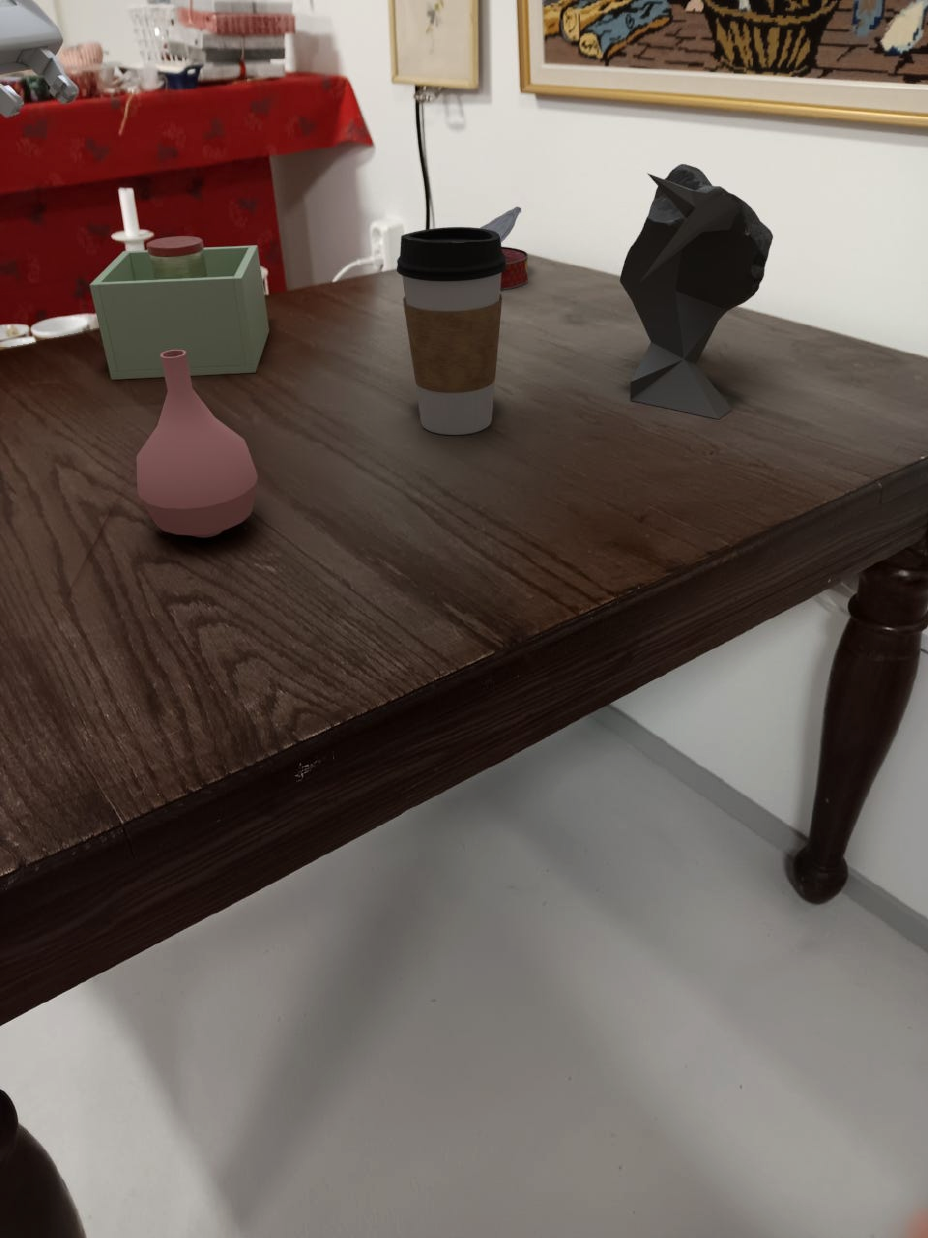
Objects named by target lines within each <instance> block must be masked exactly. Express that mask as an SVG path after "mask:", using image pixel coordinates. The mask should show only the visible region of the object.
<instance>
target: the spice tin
mask: <svg viewBox="0 0 928 1238" xmlns="http://www.w3.org/2000/svg"><path fill="white" fill-rule="evenodd" d="M145 246H146V250H147V251H148V254H149V255H150V260H151V265H152V271H153V276H154V280H163V279H185V278H207V271H206V265H205V259H204V253H203V248H205V247H204V241H203V239H202V238H201V237H198V236H190V235H189V236H188V235H178V236H167V237H161V238H160V237H159V238H156V239H153V240H150V241H148V242H147V243H146V245H145Z"/></svg>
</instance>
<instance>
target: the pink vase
mask: <svg viewBox="0 0 928 1238" xmlns="http://www.w3.org/2000/svg"><path fill="white" fill-rule="evenodd" d="M160 357H161V361H162V366H163V371H164V375H165V377H164V380H165V385H166V389H167V394H166V396H165V400H164V403H163V407H162V409H161V413H160V416H159V419H158V421H157V425H156V426H155V428H154V429H153V431H152V433H151V434H150V435H149V437H148V438H147V440H146V442H145V443H144V444H143V447H141V449H140V450H139V452H138V454H137V455H136V457H135V458H136V489H137V493H138V497H139V499H140V501H141V503H142V504H143V506H144V507H145V509H146V511H147V513H148V514H149V516H150V518H151V519H152V521H153V522H154V524H155V526H157V527H158V528H159V529H160V530H162V531H163V532H166V533H170V534H174V535H180V536H193V537H196V538H212V537H216V536H218V535H220V534H221V533H223V532H224V531H226V530H229V529H231V528H233V527H235V526H237V525H240V524H242V523H243V522H244V521H245V520H246V519H248V518H249V517H250V516H252V512H253V509H254V507H255V500H256V493H257V487H258V479H259V475H258V472H257V469H256V467H255V464H254V461H253V458H252V456H251V453H250V450H249V447H248V445H247V443H246V440H245V439H244V438H243V437H242V436H241V435H239V434H238V433H236V431H234V430H232V429H231V428H229V427H228V425H226V424H225V423H223V422H222V421H221V420H219V419H218V418H216V417H215V416H214V415H213V413H212V412H211V411H210V409H209V408H208V406H207V405H206V404H205V403H204V401H203V400H202V399H201V397H200V396H199V395H198V394H197V392H196V391H195V389H193V383H192V376H190V371H189V366H188V360H187V355H186V351H184V350H170V351H166V352H163V353H161V354H160Z"/></svg>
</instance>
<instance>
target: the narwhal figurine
mask: <svg viewBox="0 0 928 1238" xmlns="http://www.w3.org/2000/svg"><path fill="white" fill-rule="evenodd" d="M646 174H647V175H648V176H649V178H651V180H652V181H653V182H654V183H655V184H656V185H657V187H656V190H655V194H654V198H653V200H652V202H651V204H650V207H649V211H648V214H647V216H646V218H645V221H644V223H643V226H642V228H641V230H640V232H639V234H638V236H637V237H636V239H635V240H634V243H633V244H632V245H631V246H630V247H629V249H628V251H627V254H626V257H625V259H624V262H623V266H622V268H621V273H620V277H619V283H620V284H621V286H622V287H623V290H624V291H625V292H626V293H627V296H628V297H629V298H630V300H631V302H632V304H633V306H634V308H635V311H636V313H637V315H638V317H639V320H640V321H641V324H642V326H643V328H644V330H645V332H646V334H647V337H648V339H649V341H650V343H649V344H648V347H647V349H646V351H645V352H644V355H643V357H642V358H641V360H640V362H639V363H638V367H637V369H636V371H635V372H634V374H633V376H632V378H631V380H630V388H629V389H630V390H629V391H630V392H629V393H630V394H629V401H631V402H636V403H641V404H644V405H645V404H646V405H651V406H655V407H660V408H665V409H670V410H674V411H679V412H684V413H689V414H693V415H698V416H703V417H707V418H712V419H715V420H716V419H717V420H720V419H721V418H723V417H724V416H726V415H727V414H728V413H730V412H731V411H732V410H733V408H732V406H731V405H730V404H729V403H728V401H727V400H726V399H725V398H724V396H722V394H721V393H720V392H719V390H718V389H717V388H716V387H715V386H714V385H713V383H712V382H711V381H710V380H709V378H708V377H707V376H706V375H705V373H704V372H703V371H702V370H701V369H700V367H699V366H698V365H697V364H698V361H699V359H700V357H701V356H702V354H703V352H704V350H705V348H706V346H707V343H708V342H709V340H710V338H711V336H712V334H713V333H714V330H715V328H716V326H717V325H718V323H719V321H720V320H721V319H722V318H723V317H724V316H725V315H726V314H727V312H729V311H731V310H732V309H734V308H737V307H738V306H741V305H743V304H744V303H746V302H747V301H749V300H750V299H751V298H753V297H755V294H756V293H757V292H758V291H759V289H760V285H761V283H762V281H763V280H764V277H765V269H766V264H767V261H768V258H769V253H770V249H771V246H772V243H773V240H774V235H773V233H772V231H771V229H770V228H769V227H768V226H767V225H766V224H764V223H763V222H762V221H761V220H760V217H759V216H758V215H757V213H756V211H755V210H754V208H753V207H752V206H751V205H749V204H748V203H747V202H746V201H745V200H743V199H741V198H740V197H739V196H738V195H736V194H734V193H731V192H729V191H728V190H726V189H725V188H724V187H722V186H721V185H713V184H712V183H711V181H710V180H709V178H708V177H707V176H706V174H705V173H704V172H703V171H702V170H701V169H699V168H698V167H696V166H693V165H689V164H686V163H680V164H678V165H677V166H675V167H674V168H673V169H671V171H670V172H669V173H668V175H667V176H666V177H665V178H662V177H659V176H656V175H653V174H652V173H648V172H646Z"/></svg>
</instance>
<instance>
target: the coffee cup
mask: <svg viewBox="0 0 928 1238" xmlns="http://www.w3.org/2000/svg"><path fill="white" fill-rule="evenodd" d="M502 247H503V246H502V242H501V240H500V235H499V234H498V233H496V232H494V231H491V230H487V229H482V228H481V227H472V226H448V227H436V228H428V229H427V228H426V229H423V230H416V231H412V232H409V233H408V232H407V233H405V234H402V235H401V236H400V249H399V252H400V253H399V257H398V258H397V260H396V264H397V265H396V272H397V273H398V274H399V275H400V276H402V284H403V290H404V291H403V292H404V297H403V299H402V302H403V303H402V304H403V308H404V309H403V310H404V316H405V321H406V330H407V336H408V343H409V349H410V355H411V362H412V369H413V376H414V382H415V386H416V394H417V401H418V402H417V403H418V411H419V418H420V424H421V426H422V427H423V428H424V429H425V430H427V431H429V432H431V433H435V434H439V435H443V436H444V435H445V436H446V435H447V436H462V435H470V434H475V433H478V432H481V431H483V430H485V429H487V428H488V427H490V425H491V424H492V422H493V421H492V420H493V411H494V409H493V408H494V396H495V395H494V394H495V393H494V392H495V380H496V373H497V371H496V370H497V361H498V349H499V337H500V329H501V327H500V326H501V317H502V316H501V315H502V306H503V305H502V304H503V295H502V293H501V290H500V285H501V272H503V271H504V270H505V269H506V267H507V265H506V262H505V260H506V257H505V255H504V253H503V252H502Z"/></svg>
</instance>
